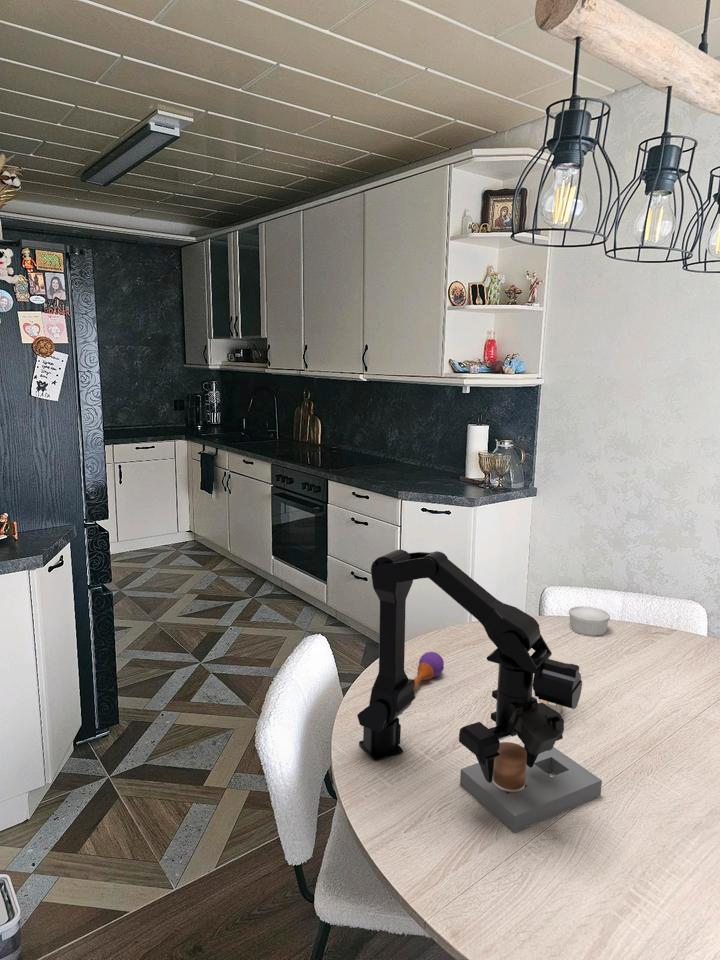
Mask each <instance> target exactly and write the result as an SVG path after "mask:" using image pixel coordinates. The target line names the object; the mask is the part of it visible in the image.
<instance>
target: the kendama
mask: <svg viewBox="0 0 720 960" xmlns="http://www.w3.org/2000/svg"><path fill="white" fill-rule="evenodd" d="M444 663H445V662H444V659H443V658H442V656H441V655H440V654H439V653H438V652H435V651H427V652H425V653H423V654H422V656H420V659H419V661H418V666H417V672H416V673H417V675H416V677H415V678H413V679H414V680H415V686H414V691H415V690H416V688H418V685H419V683H420V682H421V681H422V680H424V681H425V680H431V679H432V678H437V677H438V676H440V675H441V674H442V672H443V671H444V668H445V667H444V665H445V664H444Z"/></svg>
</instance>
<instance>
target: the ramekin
mask: <svg viewBox="0 0 720 960" xmlns="http://www.w3.org/2000/svg"><path fill="white" fill-rule="evenodd" d="M568 615H569V624H570V629H572V630H573V631H574V632H575V633H577V634H579V635H583V634H584V635H583V636H588V635H590V637H598V636H597V635H599V636H602V635H604V634H605V633H606V631H607V629H608V626H609V621H610V619H611V616H610V613H609V612H607V611H606V610H604V609H602V608H597V607H594V606H593V607H592V606H587V605H586V606H585V605H583V606H580V605H578V606H572V607H570V608H569V609H568Z"/></svg>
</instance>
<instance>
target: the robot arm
mask: <svg viewBox="0 0 720 960" xmlns="http://www.w3.org/2000/svg"><path fill="white" fill-rule="evenodd" d="M370 573H371V575H370V576H371V583H372V588H373V591H374V592H375V594H376V596H377V597H378V601H379V626H378V627H379V633H378V634H379V635H378V638H379V639H378V640H379V641H378V647H379V648H378V650H379V651H378V672H377V673H378V674H377V675H376V678H375V680H374V683H373V686H372V688H371V691H370V698H369V703H368V706H367V707H365V708H363V710H361V711H359V712H358V713H357V715H356V716H357V719H358V723H359V725H360V726H361V727H363V730H362V731H363V733H362V734H363V736H362V737H363V738H362V739H363V740H360V741H359V742H358V745H359V747H360V748H361V749H362V750H364V752H365V753H366V754H367V755H368V756H369V757H370V758H371V759H372V760H373V761H379V760H383V759H386V758H389V757H392V756H396V755H399V754H401V753H403V752H404V749H403V747H401V746H400V745H401V734H402V729H401V728H402V725H401V724H400V718H399V716H400V715H402V714H403V713H404V712H405V711H406V710H407V709H409V707H410V706H411V705H412V702H413V701H414V700H415V699H416V695H415V690H414V686H415V680H414V679H415V678H409V677H408V675H407V673H406V672H405V653H406V652H405V651H406V650H405V649H406V647H405V644H406V642H405V641H406V607H407V606H406V600H407V597H408V595H409V593H410V591H411V588H412V586H413V581H414V580H420V579H429V580H430V581H432V582H433V583H434V584H435V585H436V586H437V587H438V588H439V589H441V590H442V591H443V592H444V593H445V594H447V595H448V596H449V597H450V598H451V599H453V600H454V601H455V602H456V603H457V604H458V605H459V606H460V607H462V608H463V609H464V610H465V611H467V612H468V613H469V614H470V615H471V616H473V617H474V618H475V619H476V620H477V621H478V622H479V623H480V624H481V625H482V627H483V628H484V631H485V633H486V634H487V638H488V639H489V640H490V641H491V642H492V643H493V644H494V646H495V647H496V649H494V650H493V651H492V652H491V653H490V654H488V655H487V657H486V661H487V662H492V663H495V664H498V674H497V675H498V676H497V689H495V690H492V692H491V697H492V698H493V699H495V700H496V705H495V706H496V709H495V711H493V712H490V719H491V720H492V721H493V722H495V726H493V727H490V728H488V727H487V726H485V724H483V723H482V722H480V721H478V722H477V721H476V722H474V723H471V724H468V725H464V726H463V727H461V728H459V731H458V734H459V735H458V742H459V743H460V744H462V746H464V747H465V748H466V749H467V750H469V751H470V752H471V753H472V754H474V755H475V757H476V759H477V762H478V763H479V765H480V767H481V770H482V772H483V774H484V777H485V779H486V781H487V782H489V783H491V782H492V777H493V768H494V758H496V757H497V756H499V755H500V754H499V753H498V752H497V751H498V750H499V748H500V743H501V742H500V741H501V740H504V739H508V738H510V737H515V736H517V737H518V739H519V740H520V741H521V742H522V744H523V747H524V748H525V750H526V751H527V761H526V764H527V766H529V767H530V768H531V767H533V765H534V763H535V760H536V758H537V756H538V754H540V753H542V752H545V751H547V750H548V751H549V750H552V748H553V747H555V743H556V742H558V741H559V740H563V737H564V736H563V733H564V731H565V719H564V718H563V716H562V714H561V712H560V713H558V712H557V711H555V710H553V709H552V708H550V707H549V706H547V705H546V704H544V703H542V702H541V701H542V700H545V701H548V702H551V703H555V704H558V705H561V706H562V707H565V708H569V709H573V710H575V709H576V708H577V706H578V705H579V701H580V697H581V693H582V690H583V680H582V675H581V673H580V665H577V664H573V663H567V662H563V661H558V660H555V659H551V656H552V655H553V654H552V653H553V652H552V651H551V649H550V647H549V645H548V644H547V643H546V641H545V639H544V638H543V636H542V634H541V629H540V624H539V622H538V621H537V620H536V619H535V618H534V617H533V616H532V615H530V614H528V613H526V612H524V611H523V610H521V609H520V608H518V607H516V606H512V605H511V604H507V603H504V602H502V601H500V600H499V599H498V598H496V597H494V596H493V594H491V593H490V592H489V591H487V590H486V589H485V588H484V587H483V586H482V585H480V584H479V583H478V582H476V581H475V580H474V579H473V578H472V577H470V576H469V575H468V574H467V573H466V572H464V571H463V570H462V569H461V568H459V567H458V566H457V565H456V564H454V562H452V561H451V560H450V559H449V558H448V556H447V555H446V553H444V552H442V551H438V550H437V551H436V550H435V551H432V552H424V551H418V552H417V551H416V552H408V551H407V550H404V549H395V550H392V551H391V552H388V553H386V554H383V555H382V556H378V558H376V559H375V560H374V561H373V562H372V563H371V566H370ZM531 650H534V652H533V653H531V654H530V653H529V651H531ZM533 691H534V692H533ZM533 693H534V696H535V697H537V698H538V699H539V700H541V701H540V702H538V699H537V698H535V697H534V696H533Z"/></svg>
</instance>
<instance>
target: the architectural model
mask: <svg viewBox="0 0 720 960" xmlns="http://www.w3.org/2000/svg"><path fill="white" fill-rule="evenodd" d="M541 702H542V703H544V704H546V705H547V706H549V707H550V708H552V709H553V710H555V711H557V712H558V713H560V714H561V712H562V710H563V706H561V705H558V704H555V703H551V702H548V701H545V700H541V701H540V703H541Z"/></svg>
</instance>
